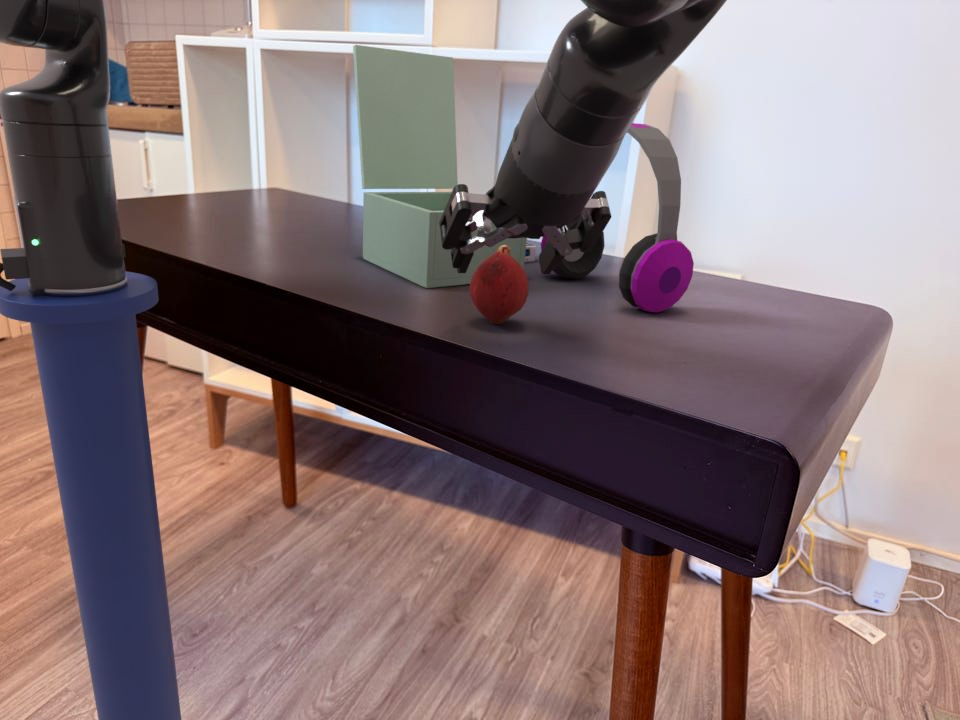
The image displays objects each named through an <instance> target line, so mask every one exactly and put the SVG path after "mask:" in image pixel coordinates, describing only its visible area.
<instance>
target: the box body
mask: <svg viewBox="0 0 960 720" xmlns="http://www.w3.org/2000/svg"><path fill="white" fill-rule="evenodd" d="M451 193H452V191H377V192H376V191H373V192H371V191H368V192H367V191H364V192H363V193H362V194H363V195H362V196H363V197H362V198H363V199H362V201H363V204H362V205H363V209H362V259H363V260H365V261H367V262H369V263H372V264H374V265H375V266H378V267H379V268H382V269H384V270H386V271H388V272H390V273H393V274H395V275H397V276H399V277H401V278H404V279H405V280H407V281H410V282H412V283H413V284H416V285H419V286H421V287H423V288H425V289H433V288H434V289H435V288H442V287H452V286H453V287H454V286H462V285H470V283H471V278H472V276H473V274H474V272H475V271H476V269H477V268H478V266H479V265H480V264H481V263H482V262H483V261H484V260H485V259H487V258H488V257H490V256H492V255H493V254H494V253H495V252H496V251H497V249H498V248H499V247H500V246H502V245H507V246H508V247H509V248H510V249H511V251H510V256H511V257H512V258H514V259H515V260H516V261H517V262H518V263H519V264H520V265H521V266H522V268H523V269H524V270H525V263H526V262H525V253H526V243H528V242H527V241H528V238H524V237H523V238H515V239H513V238H506V239H505V240H503V241H501V242H499V243H497V244H496V245H494V246H492V247H488V246H486V245H484V246H483V247H481V248H479V249H477V250H475V251H474V255H473V257H472V259H471V262H470V264H469V266H468V269H467V271H466V273H458V272H457V268H453V265H452V258H451V250H452V249H449V250H447V249H444V248H443V247H442V241H441V234H440V226H439V222H440V219H441V217H442V215H443V212H444V210H445V208H446V205H447V203H448V200H449V198H450V196H451ZM491 228H492V231H494V230H495V229H497V228H496V227H495V225H494V224H493V223H492V221H491ZM477 233H478V231H477V230H475V231H474V232H472V238H473V237H475V236H476V235H477Z"/></svg>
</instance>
